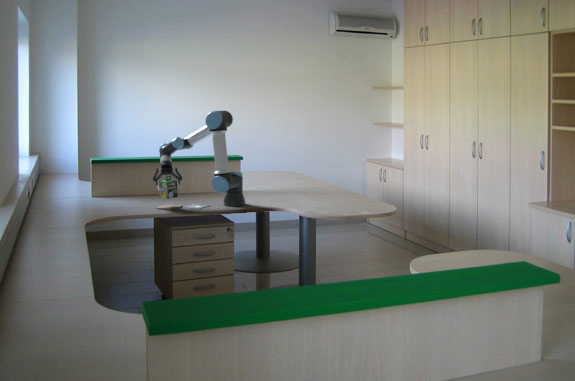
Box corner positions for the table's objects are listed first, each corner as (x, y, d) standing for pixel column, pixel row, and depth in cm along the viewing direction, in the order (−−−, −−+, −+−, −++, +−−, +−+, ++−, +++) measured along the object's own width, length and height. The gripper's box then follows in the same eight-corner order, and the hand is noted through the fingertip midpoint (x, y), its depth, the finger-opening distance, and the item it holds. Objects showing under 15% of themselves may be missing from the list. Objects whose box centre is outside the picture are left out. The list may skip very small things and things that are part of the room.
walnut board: (183, 207, 432) (183, 205, 432) (172, 210, 420) (171, 208, 420) (167, 205, 437) (167, 204, 437) (155, 208, 426) (155, 207, 426)
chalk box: (169, 195, 435) (168, 174, 432) (178, 197, 429) (177, 175, 427) (158, 197, 428) (157, 175, 425) (167, 199, 422) (167, 176, 420)
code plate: (209, 205, 435) (209, 205, 435) (198, 209, 423) (198, 208, 423) (192, 204, 441) (192, 204, 441) (180, 207, 429) (180, 207, 429)
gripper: (183, 166, 443) (186, 191, 431) (147, 167, 437) (149, 192, 425) (184, 159, 437) (187, 184, 425) (148, 160, 431) (149, 185, 419)
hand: (168, 188), depth 425 cm, fingers closed on chalk box, 12 cm apart
